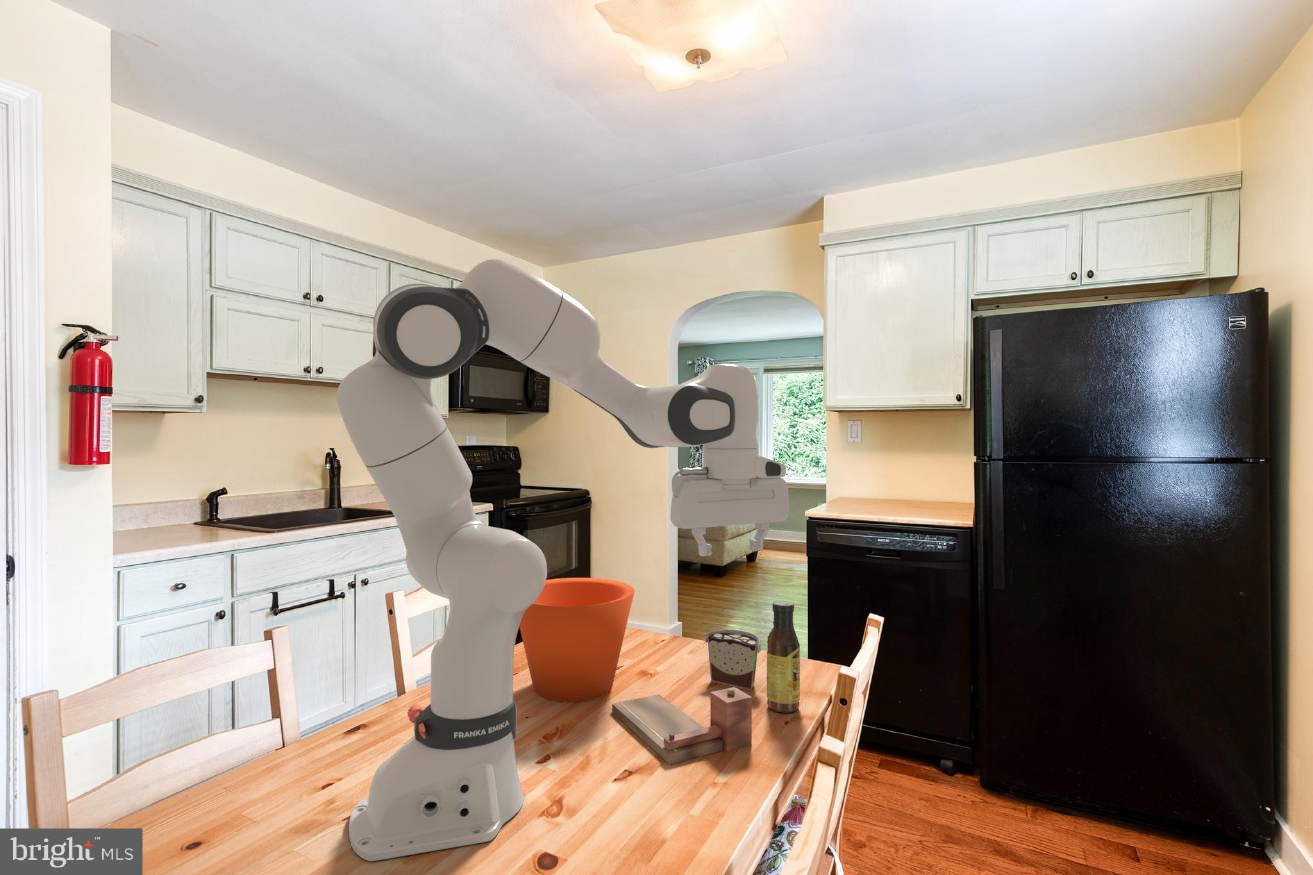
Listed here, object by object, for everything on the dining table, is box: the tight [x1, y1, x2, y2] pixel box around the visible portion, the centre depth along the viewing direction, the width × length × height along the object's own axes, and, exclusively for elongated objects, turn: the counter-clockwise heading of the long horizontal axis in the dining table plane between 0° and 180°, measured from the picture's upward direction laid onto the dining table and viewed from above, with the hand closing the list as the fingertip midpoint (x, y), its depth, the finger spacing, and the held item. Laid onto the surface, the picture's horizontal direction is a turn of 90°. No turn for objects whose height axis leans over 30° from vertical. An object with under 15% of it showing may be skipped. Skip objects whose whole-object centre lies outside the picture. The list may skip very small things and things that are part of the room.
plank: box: [611, 694, 724, 765], centre depth 113 cm, size 10×22×2 cm, turn 28°
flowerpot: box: [519, 577, 635, 704], centre depth 133 cm, size 25×25×20 cm
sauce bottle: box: [766, 600, 801, 714], centre depth 123 cm, size 6×6×20 cm
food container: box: [704, 629, 762, 691], centre depth 136 cm, size 12×6×10 cm, turn 58°
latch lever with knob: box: [664, 686, 753, 752], centre depth 106 cm, size 15×5×9 cm, turn 118°
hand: (731, 552), depth 103 cm, fingers open, 8 cm apart
